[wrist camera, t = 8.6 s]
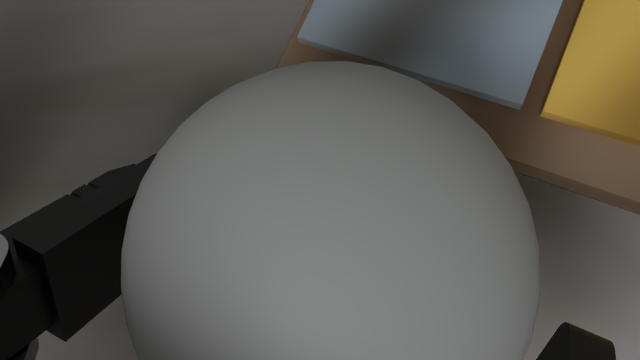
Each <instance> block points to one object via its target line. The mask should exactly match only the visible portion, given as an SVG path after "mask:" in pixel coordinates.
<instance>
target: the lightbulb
mask: <svg viewBox="0 0 640 360" xmlns="http://www.w3.org/2000/svg"><path fill="white" fill-rule="evenodd" d="M121 291H122V298H123V304H124V310H125V317H126V323H127V327H128V330H129V333H130V336H131V339H132V342H133V345H134V347H135V350H136V353H137V356H138V359H139V360H522V359H523V357H524V355H525V352H526V350H527V348H528V345H529V343H530V341H531V338H532V333H533V328H534V322H535V317H536V312H537V307H538V302H539V296H540V265H539V245H538V241H537V236H536V232H535V228H534V223H533V219H532V215H531V211H530V206H529V203H528V201H527V199H526V197H525V195H524V192H523V190H522V188H521V186H520V184H519V182H518V179H517V177H516V175H515V173H514V171H513V169H512V166H511V165H510V164H509V162H508V161H507V159H506V158H505V157H504V155H503V154H502V153H501V151H500V150H499V149H498V147H497V146H496V144H495V143H494V142H493V140H492V139H491V138H490V136H489V135H488V134H487V132H486V131H485V130H483V129H482V128H481V127H480V126H479V125H478V124H477V123H476V122H475V121H474V120H472V119H471V118H470V117H469V116H468V115H467V114H466V113H465V112H464V111H463V110H462V109H460V108H459V107H458V106H457V105H456V104H455V103H454V102H452V101H451V100H450V99H448V98H447V97H445V96H443V95H442V94H440V93H438V92H437V91H435V90H433V89H432V88H430V87H428V86H427V85H425V84H423V83H422V82H420V81H418V80H416V79H414V78H411V77H408V76H405V75H403V74H400V73H397V72H394V71H392V70H389V69H386V68H384V67H379V66H373V65H367V64H361V63H355V62H349V61H325V62H307V63H302V64H297V65H292V66H287V67H282V68H277V69H273V70H270V71H267V72H265V73H262V74H260V75H257V76H254V77H252V78H249V79H247V80H244V81H242V82H239V83H237V84H235V85H233V86H232V87H230V88H228V89H227V90H225V91H223V92H222V93H220V94H218V95H217V96H215V97H213V98H212V99H210V100H209V101H207V102H206V103H205V104H203V105H202V106H201V107H200V108H199V109H198V110H197V111H195V112H194V113H193V114H192V115H191V116H190V117H188V118H187V119H186V120H185V121H184V122H183V123H182V124H181V125H180V126H179V127H178V128H177V129H176V131H175V132H174V133H173V134H172V135H171V137H170V138H169V139H168V140H167V141H166V143H165V144H164V145H163V146H162V148H161V149H160V150H159V151H158V153H157V155H156V156H155V158H154V160H153V162H152V163H151V165H150V167H149V169H148V170H147V172H146V174H145V175H144V177H143V179H142V181H141V183H140V186H139V188H138V191H137V194H136V196H135V199H134V201H133V204H132V207H131V209H130V212H129V215H128V220H127V225H126V230H125V235H124V241H123V246H122V255H121Z"/></svg>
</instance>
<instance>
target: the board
mask: <svg viewBox="0 0 640 360" xmlns="http://www.w3.org/2000/svg"><path fill="white" fill-rule="evenodd" d="M325 61H349V62H355V63H361V64H367V65H373V66H379V67H384V68H386V69H389V70H392V71H394V72H397V73H400V74H403V75H405V76H408V77H411V78H414V79H416V80H418V81H420V82H422V83H423V84H425V85H427V86H428V87H430V88H432V89H433V90H435V91H437V92H438V93H440V94H442V95H443V96H445V97H447V98H448V99H450V100H451V101H452V102H454V103H455V104H456V105H457V106H458V107H459V108H460V109H462V110H463V111H464V112H465V113H466V114H467V115H468V116H469V117H470V118H471V119H472V120H474V121H475V122H476V123H477V124H478V125H479V126H480V127H481V128H482V129H483V130H485V131H486V132H487V134H488V135H489V136H490V138H491V139H492V140H493V142H494V143H495V144H496V146H497V147H498V149H499V150H500V151H501V153H502V154H503V155H504V157H505V158H506V159H507V161H508V162H509V164H510V165H511V166H512V169H513V171H515V172H518V173H521V174H524V175H527V176H530V177H532V178H535V179H538V180H541V181H544V182H547V183H550V184H553V185H556V186H559V187H562V188H564V189H567V190H570V191H573V192H576V193H579V194H582V195H585V196H588V197H591V198H594V199H596V200H599V201H602V202H605V203H608V204H611V205H614V206H617V207H620V208H623V209H626V210H628V211H631V212H634V213H637V214H640V0H309V2H308V4H307V6H306V8H305V10H304V12H303V14H302V16H301V19H300V21H299V23H298V25H297V27H296V29H295V31H294V33H293V35H292V37H291V39H290V41H289V43H288V45H287V47H286V49H285V51H284V53H283V55H282V58H281V60H280V62H279V64H278V66H277V68H282V67H287V66H292V65H297V64H302V63H307V62H325ZM277 68H276V69H277Z"/></svg>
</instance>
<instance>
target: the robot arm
mask: <svg viewBox="0 0 640 360" xmlns="http://www.w3.org/2000/svg"><path fill="white" fill-rule="evenodd" d="M156 155H157V153H156V154H154V155H152V156H151V157H149V158H147V159H146V160H144V161H142V162H140V163H139V164H137V165H135V164H132V165H129V166H125V167H121V168H118V169H114V170H110V171H108V172H106V173H104V174H103V175H101V176H99V177H97V178H96V179H94V180H92V181H90V182H89V184H88V185H87V186H86V185H83V186H81V187H79V188H78V189H76V190H74V191H72V193H71V195H68V194H67V195H65V196H63V197H62V198H60V199H58V200H56V201H54V202H53V203H51V204H49V205H47V206H45V207H44V208H42V209H40V210H38V211H37V212H35V213H33V214H31V215H29V216H28V217H26V218H24V219H22V220H20V221H19V222H17V223H15V224H13V225H11V226H10V227H8V228H6V229H4V230H2V231H0V360H35V358H36V355H37V352H38V347H39V341H38V338H37V337H38V336H39V335H40V334H42V333H43V332H44V331H45V330H47V331H48V332H50V333H52V334H53V335H55V336H57V337H58V338H60V339H61V340H63V341H65V342H66V341H67V340H68V339H69V338H70V337H72V336H73V335H74V334H75V333H76V332H77V331H79V330H80V329H81V328H82V327H83V326H85V325H86V324H87V323H88V322H89V321H90V320H92V319H93V318H94V317H95V316H96V315H97V314H99V313H100V312H101V311H102V310H103V309H105V308H106V307H107V306H108V305H109V304H110V303H112V302H113V301H114V300H115V299H116V298H117V297H119V296H120V295H121V294H122V291H121V255H122V246H123V241H124V235H125V230H126V225H127V220H128V215H129V212H130V209H131V207H132V204H133V201H134V199H135V196H136V194H137V191H138V188H139V186H140V183H141V181H142V179H143V177H144V175H145V174H146V172H147V170H148V169H149V167H150V165H151V163H152V162H153V160H154V158H155V156H156ZM536 360H616V356H615V348H614V345H613V343H612V342H611V341H609V340H607V339H605V338H602V337H600V336H598V335H595V334H593V333H591V332H588V331H586V330H583V329H581V328H579V327H576V326H574V325H572V324H569V323H567V322H565V323H563V324H561V325H560V326H559V328H558V329H557V330H556V332H555V333H554V335H553V336H552V338H551V339H550V341H549V342H548V343H547V345H546V346H545V348H544V349H543V351H542V352H541V354H540V355H539V356H538V358H537V359H536Z"/></svg>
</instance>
